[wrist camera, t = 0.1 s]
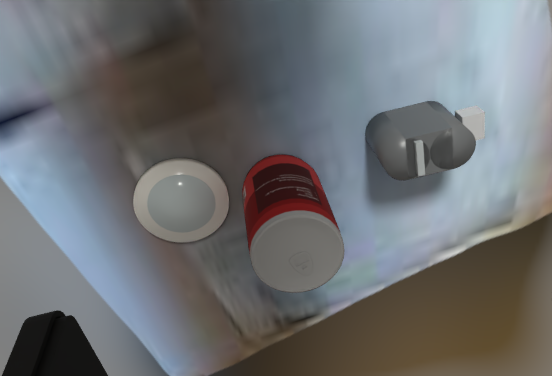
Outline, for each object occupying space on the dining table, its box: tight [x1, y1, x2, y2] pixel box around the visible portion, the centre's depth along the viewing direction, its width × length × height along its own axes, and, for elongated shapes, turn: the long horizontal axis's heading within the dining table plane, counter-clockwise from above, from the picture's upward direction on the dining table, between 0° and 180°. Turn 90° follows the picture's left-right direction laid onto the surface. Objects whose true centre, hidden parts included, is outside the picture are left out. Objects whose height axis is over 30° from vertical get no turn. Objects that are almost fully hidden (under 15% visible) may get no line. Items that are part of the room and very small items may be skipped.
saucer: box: [133, 158, 229, 242], centre depth 50 cm, size 9×9×1 cm
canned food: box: [242, 155, 344, 293], centre depth 47 cm, size 8×8×11 cm
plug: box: [365, 101, 485, 180], centre depth 47 cm, size 10×4×6 cm, turn 102°
